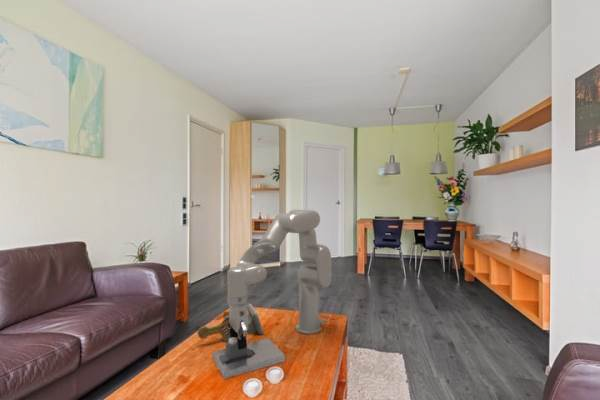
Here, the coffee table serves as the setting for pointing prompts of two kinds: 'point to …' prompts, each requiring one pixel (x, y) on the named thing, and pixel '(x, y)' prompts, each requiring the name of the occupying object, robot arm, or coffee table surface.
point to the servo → (234, 352)
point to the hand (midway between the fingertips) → (238, 342)
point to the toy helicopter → (218, 328)
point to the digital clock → (253, 321)
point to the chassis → (250, 359)
